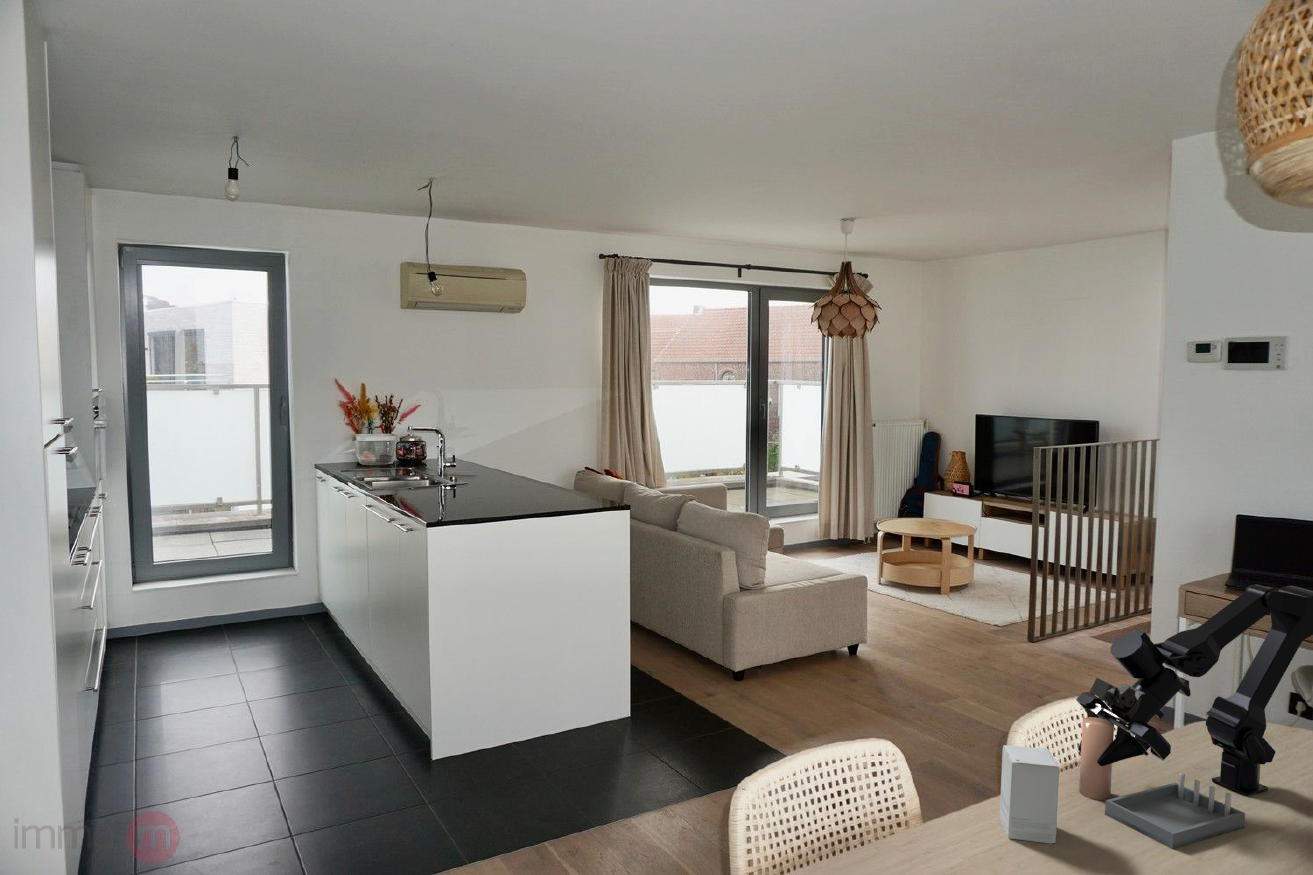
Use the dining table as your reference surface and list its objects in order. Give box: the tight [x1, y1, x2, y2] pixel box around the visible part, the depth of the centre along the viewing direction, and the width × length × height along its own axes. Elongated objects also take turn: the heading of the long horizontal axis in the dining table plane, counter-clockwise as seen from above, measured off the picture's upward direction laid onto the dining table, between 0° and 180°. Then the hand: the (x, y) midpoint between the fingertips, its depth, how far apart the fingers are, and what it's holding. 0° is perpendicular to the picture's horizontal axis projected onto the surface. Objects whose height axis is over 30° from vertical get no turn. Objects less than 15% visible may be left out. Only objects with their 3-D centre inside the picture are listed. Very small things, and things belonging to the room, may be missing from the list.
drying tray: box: [1104, 772, 1246, 850], centre depth 145 cm, size 18×12×5 cm, turn 114°
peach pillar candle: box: [1078, 716, 1115, 801], centre depth 154 cm, size 5×5×13 cm
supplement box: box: [999, 744, 1060, 844], centre depth 141 cm, size 7×7×13 cm
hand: (1089, 757), depth 154 cm, fingers closed on peach pillar candle, 5 cm apart
